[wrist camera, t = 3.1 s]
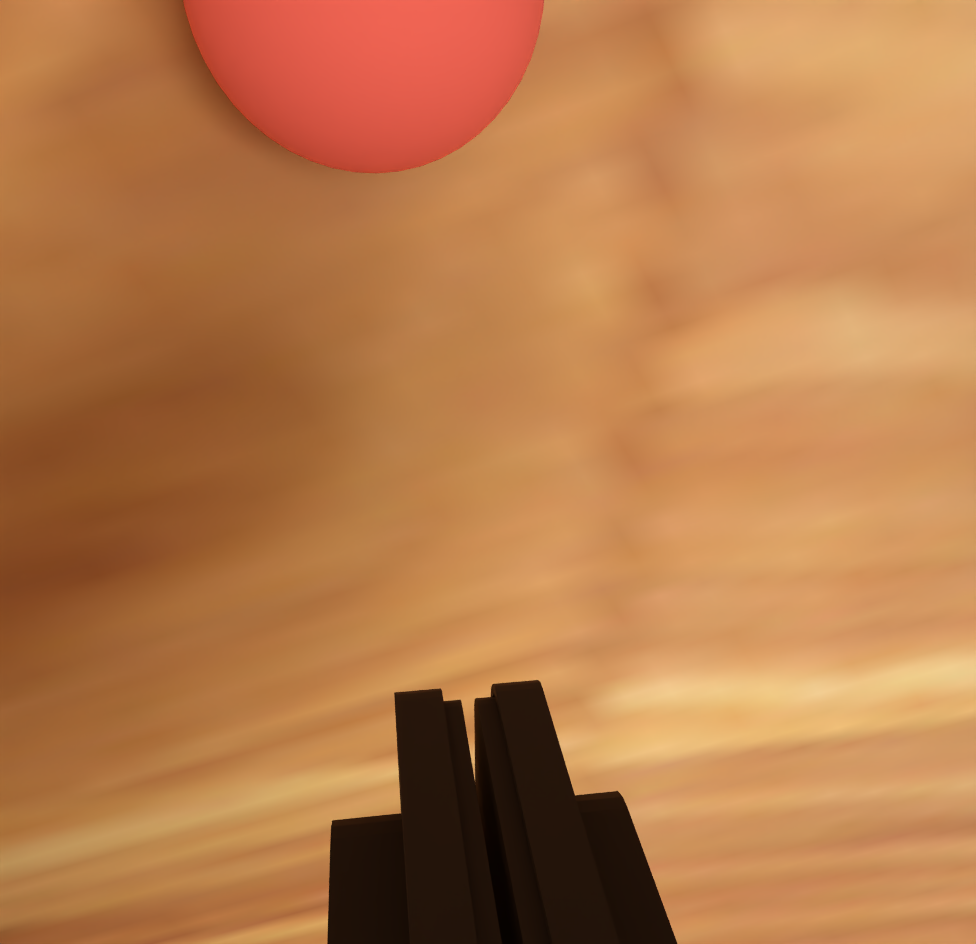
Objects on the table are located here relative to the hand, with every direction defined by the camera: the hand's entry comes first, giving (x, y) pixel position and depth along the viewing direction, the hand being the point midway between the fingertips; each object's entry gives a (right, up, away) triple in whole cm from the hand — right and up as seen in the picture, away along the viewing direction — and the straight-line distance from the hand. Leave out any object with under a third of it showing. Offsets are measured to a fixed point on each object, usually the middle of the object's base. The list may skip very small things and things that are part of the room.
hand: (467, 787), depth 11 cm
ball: (-2, +12, +5) cm, 13 cm away
